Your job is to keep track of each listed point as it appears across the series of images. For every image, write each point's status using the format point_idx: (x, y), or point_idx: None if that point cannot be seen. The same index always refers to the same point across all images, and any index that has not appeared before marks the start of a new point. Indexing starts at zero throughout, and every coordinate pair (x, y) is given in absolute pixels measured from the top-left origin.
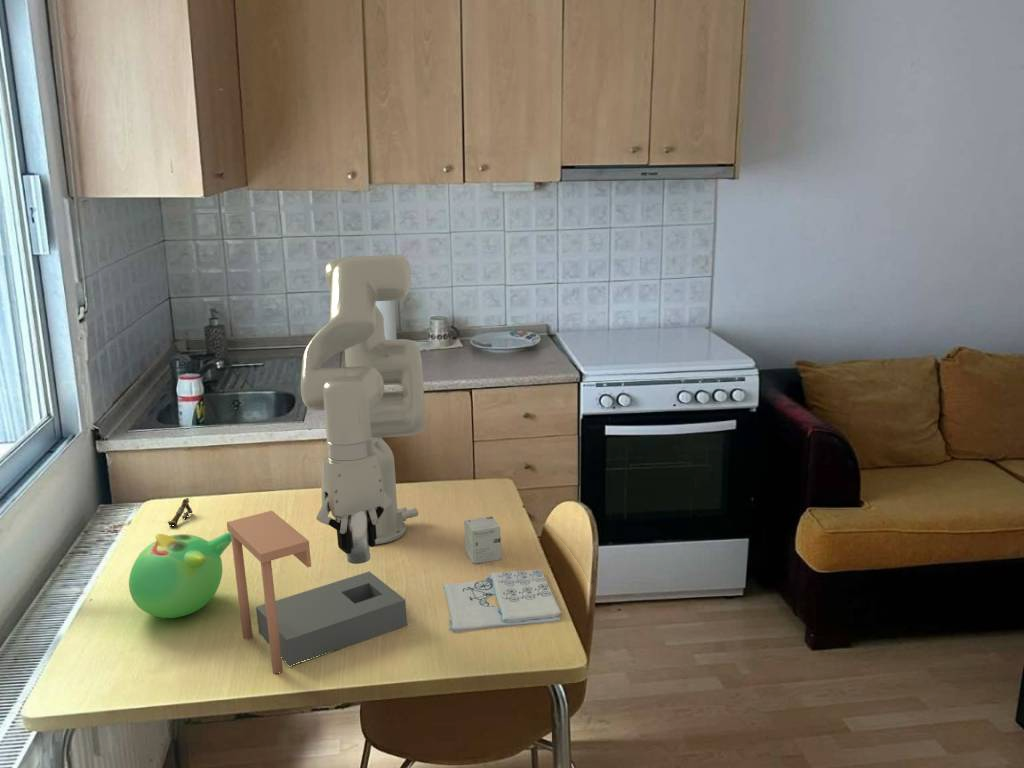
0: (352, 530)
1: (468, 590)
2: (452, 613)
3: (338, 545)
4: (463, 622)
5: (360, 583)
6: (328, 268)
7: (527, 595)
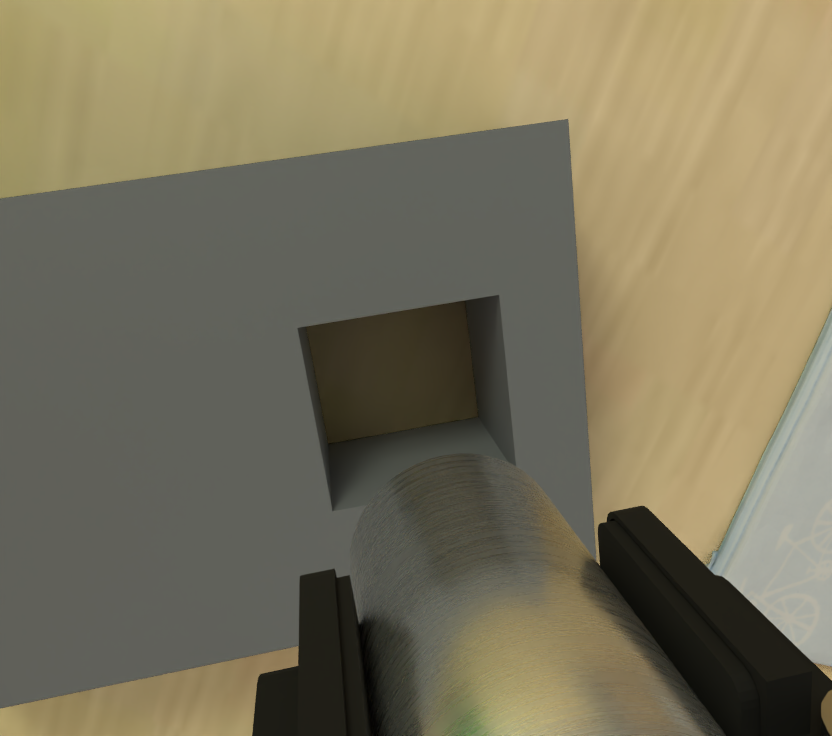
0: None
1: None
2: (749, 531)
3: (261, 685)
4: None
5: (449, 273)
6: None
7: None
